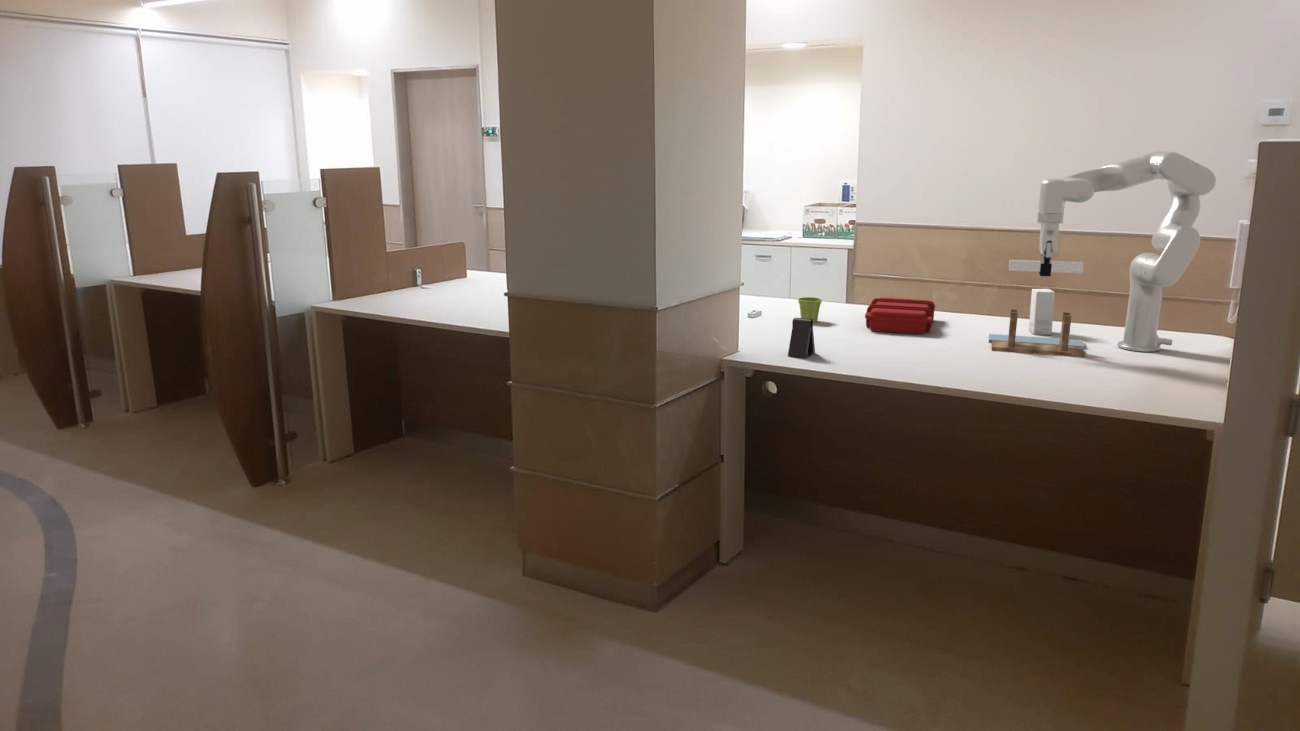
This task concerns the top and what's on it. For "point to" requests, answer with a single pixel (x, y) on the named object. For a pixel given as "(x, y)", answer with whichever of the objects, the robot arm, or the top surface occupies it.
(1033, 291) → the skincare box
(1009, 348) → the cradle stand
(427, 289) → the top surface
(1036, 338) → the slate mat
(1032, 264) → the aluminium rail
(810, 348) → the phone stand
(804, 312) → the plant pot
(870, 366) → the top surface
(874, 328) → the first aid kit
